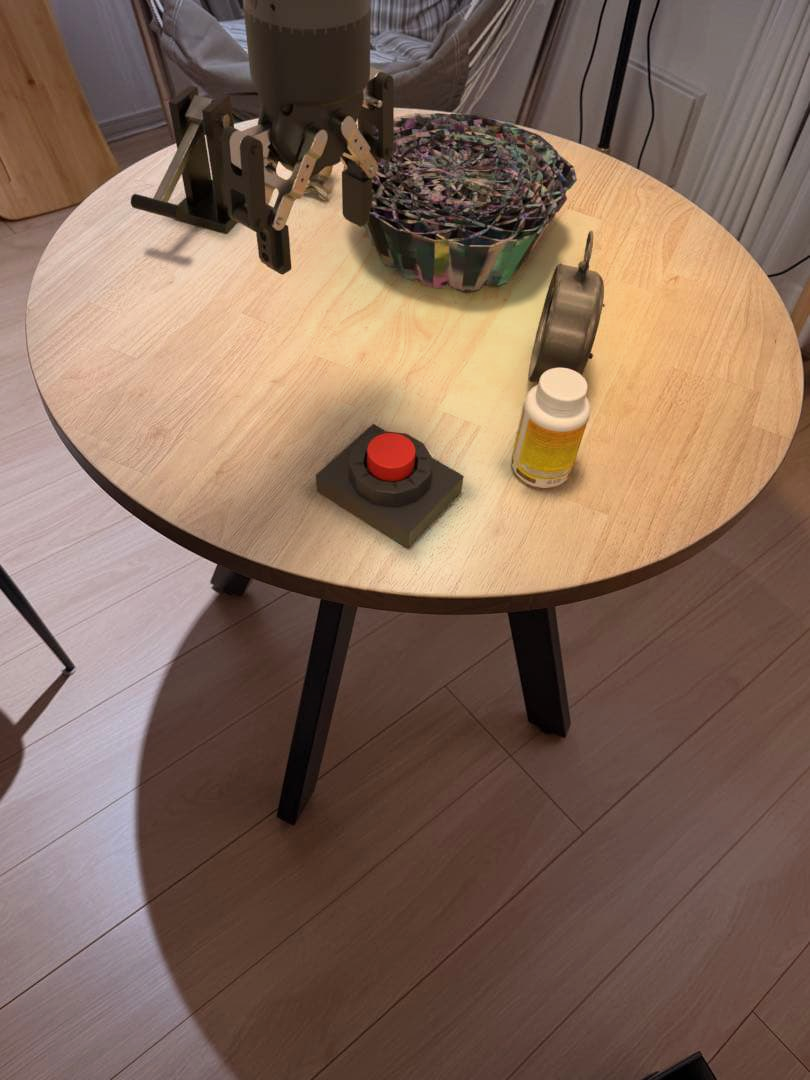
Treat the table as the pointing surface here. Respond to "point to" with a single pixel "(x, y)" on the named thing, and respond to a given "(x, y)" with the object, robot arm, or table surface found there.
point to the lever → (176, 165)
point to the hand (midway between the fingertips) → (318, 244)
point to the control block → (390, 489)
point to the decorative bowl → (464, 199)
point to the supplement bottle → (551, 428)
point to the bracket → (204, 162)
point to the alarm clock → (568, 318)
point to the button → (391, 457)
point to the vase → (319, 182)
